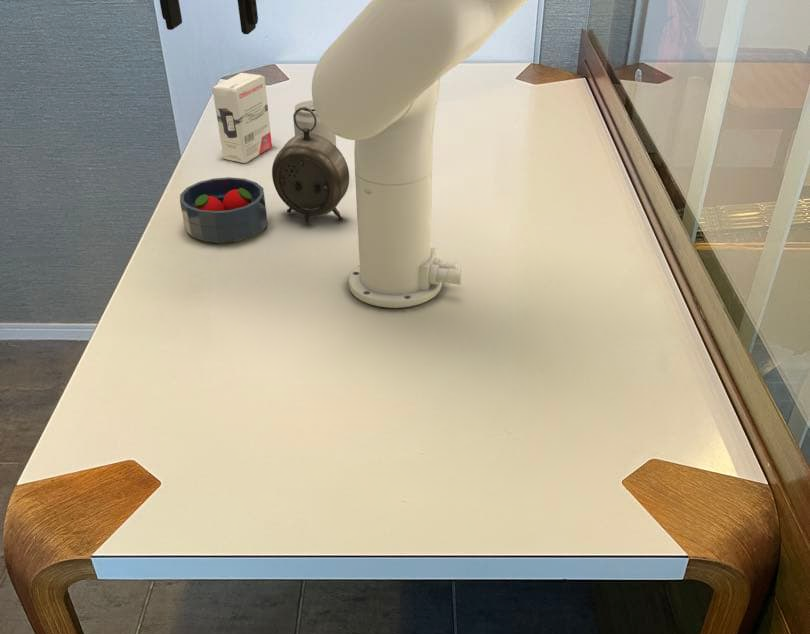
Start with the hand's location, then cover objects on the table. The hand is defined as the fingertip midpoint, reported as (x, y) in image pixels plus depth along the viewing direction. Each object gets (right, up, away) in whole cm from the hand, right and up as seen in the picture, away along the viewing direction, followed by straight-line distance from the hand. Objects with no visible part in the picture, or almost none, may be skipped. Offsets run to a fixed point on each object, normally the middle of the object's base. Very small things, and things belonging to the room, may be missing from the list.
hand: (211, 28), depth 104 cm
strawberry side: (-5, -15, +24) cm, 29 cm away
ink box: (-4, +5, +45) cm, 46 cm away
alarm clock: (+9, -14, +27) cm, 31 cm away
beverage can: (+9, -4, +36) cm, 37 cm away
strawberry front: (-3, -13, +25) cm, 29 cm away
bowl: (-3, -15, +25) cm, 29 cm away
